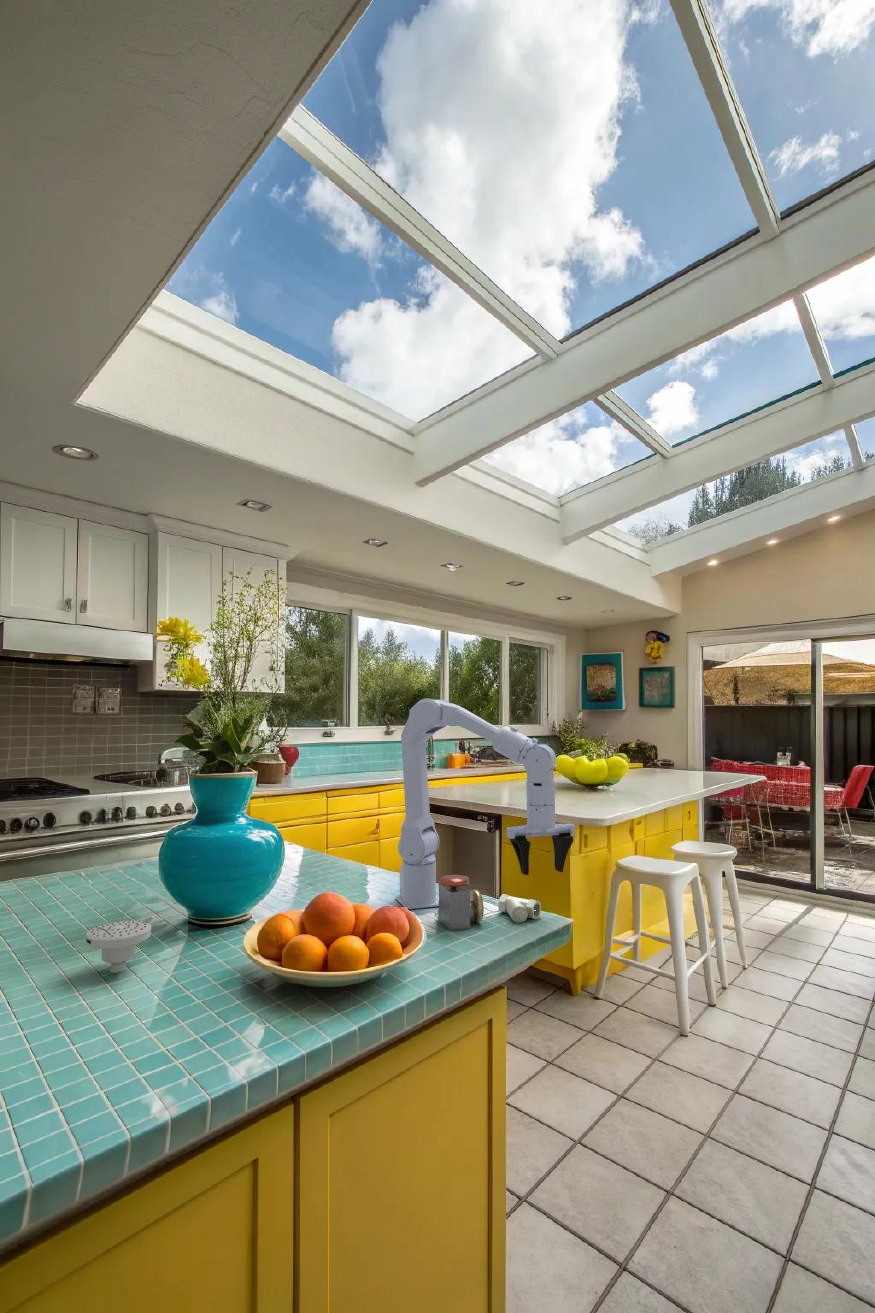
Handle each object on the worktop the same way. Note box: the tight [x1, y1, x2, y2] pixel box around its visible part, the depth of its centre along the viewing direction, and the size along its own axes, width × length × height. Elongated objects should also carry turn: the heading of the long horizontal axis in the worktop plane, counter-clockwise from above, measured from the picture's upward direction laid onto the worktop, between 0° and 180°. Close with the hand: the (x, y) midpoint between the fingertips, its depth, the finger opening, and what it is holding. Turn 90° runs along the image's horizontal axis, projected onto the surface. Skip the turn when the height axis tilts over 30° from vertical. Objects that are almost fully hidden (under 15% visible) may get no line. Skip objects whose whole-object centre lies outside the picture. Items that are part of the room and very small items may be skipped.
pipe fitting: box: [497, 893, 542, 923], centre depth 132 cm, size 8×4×7 cm
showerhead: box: [85, 916, 153, 974], centre depth 106 cm, size 9×7×10 cm
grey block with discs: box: [438, 874, 485, 931], centre depth 129 cm, size 7×8×9 cm
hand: (542, 872), depth 133 cm, fingers open, 7 cm apart
